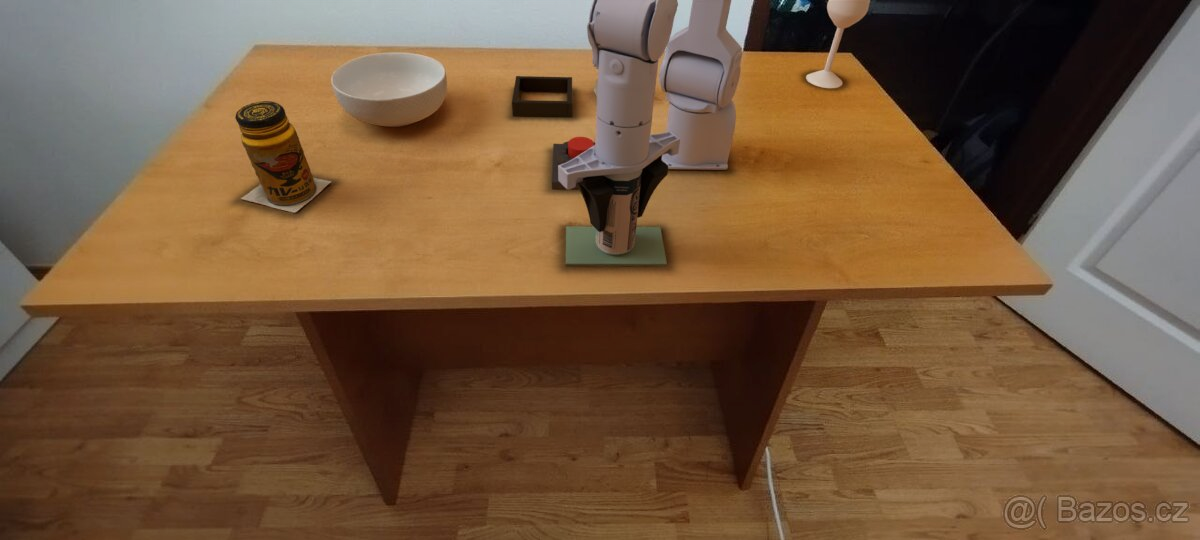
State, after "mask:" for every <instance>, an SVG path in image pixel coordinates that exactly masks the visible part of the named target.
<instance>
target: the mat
mask: <svg viewBox="0 0 1200 540" xmlns="http://www.w3.org/2000/svg"><path fill="white" fill-rule="evenodd" d="M595 239H596V228H595V227H594V226H593V225H592V226H591V225H590V226H589V225H587V226H586V225H585V226H584V225H583V226H579V225H578V226H577V225H575V226H574V225H567V226H565V266H566V267H667V266H668V262H667V256H666V250H665V245H664V244H665V243H664V238H663V233H662V229H661V226H636V235H635V244H634V246H633V248H632V249H631V250H630V251H628V252H627V253H624V254H617V255H616V254H609V253H606V252H604V251H602V250H601V249H599V248H598V246H597V245H596V241H595Z"/></svg>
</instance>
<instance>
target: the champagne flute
mask: <svg viewBox="0 0 1200 540" xmlns="http://www.w3.org/2000/svg"><path fill="white" fill-rule="evenodd" d="M870 4H871V0H828V2H827V4H826V10H827V14H828V16H829V18H830V20H831V21H832V23H833V25H834V26H835V27H836V31H835V33H834V37H833V40H832V44H831V47H830V50H829V53H828V55H827V59H826V62H825V65H824V69H821V70H817V71H814V72H810V73H808V74H806V76H805V80H806V81H807V82H808V83H810V84H811V85H814V86H816V87H819V88H823V89H837V88H840V87H842V86H843V80H842V79H841V78H839V77H838V76H837V75H836V74H835V73H834V72H833V71H832V68H833V65H834V61H835V58H836V55H837V52H838V49H839V46H840V42H841V40H842V36H843V34H844V31H845V29H847V28H850V27H851V26H854V24H857V23H858V22H859V21H861V20H862V19H864V17H865V16H866V15H867V13H868V11H869V7H870Z"/></svg>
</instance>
